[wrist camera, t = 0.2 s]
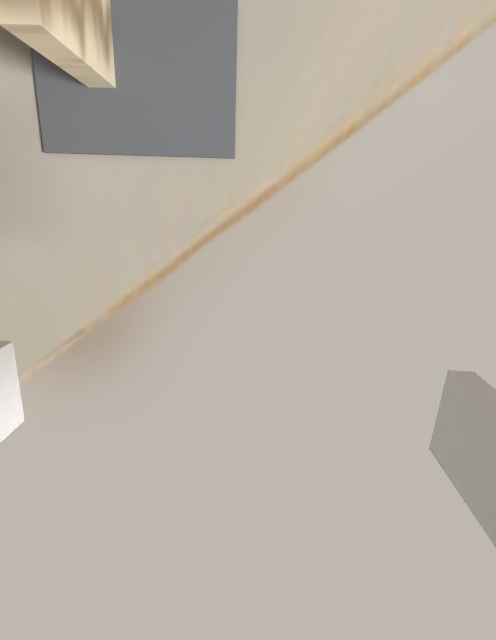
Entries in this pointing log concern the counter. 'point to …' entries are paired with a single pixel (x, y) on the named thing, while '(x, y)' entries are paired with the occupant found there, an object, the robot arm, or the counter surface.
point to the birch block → (66, 35)
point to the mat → (150, 85)
